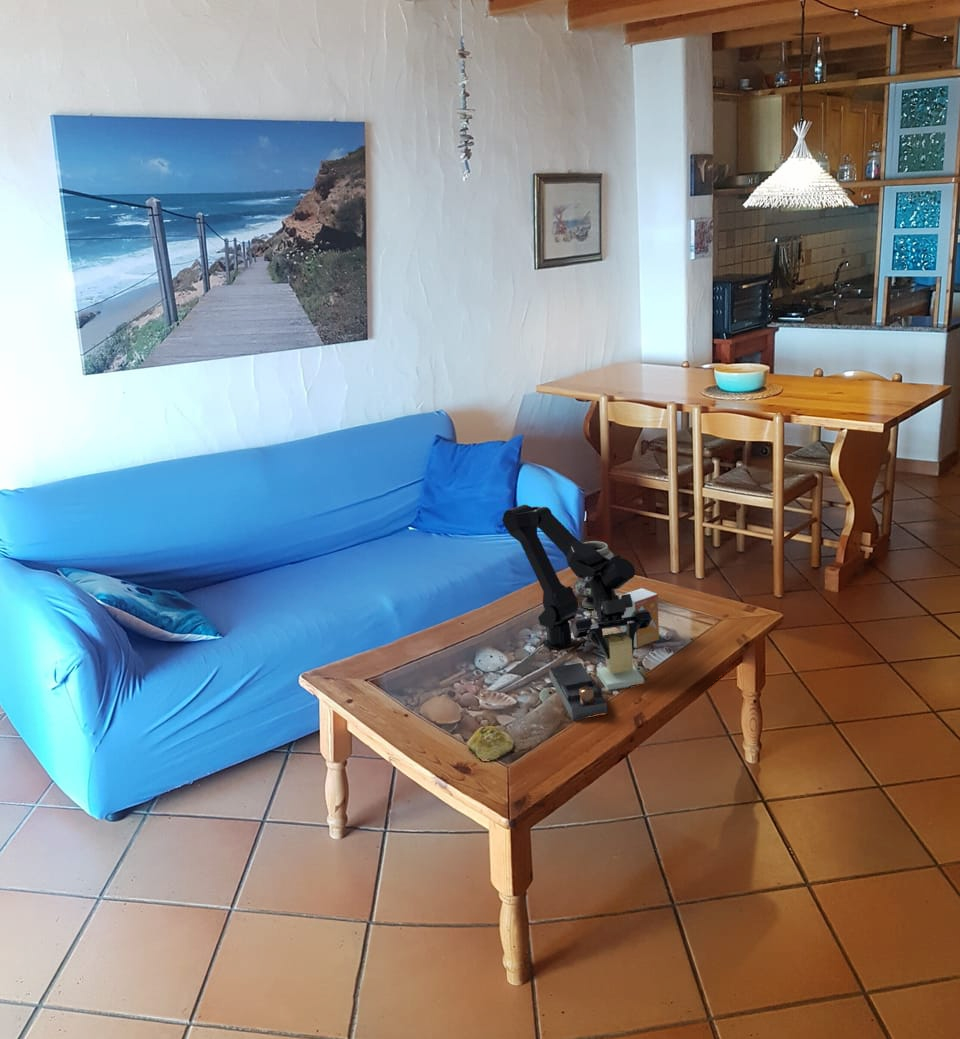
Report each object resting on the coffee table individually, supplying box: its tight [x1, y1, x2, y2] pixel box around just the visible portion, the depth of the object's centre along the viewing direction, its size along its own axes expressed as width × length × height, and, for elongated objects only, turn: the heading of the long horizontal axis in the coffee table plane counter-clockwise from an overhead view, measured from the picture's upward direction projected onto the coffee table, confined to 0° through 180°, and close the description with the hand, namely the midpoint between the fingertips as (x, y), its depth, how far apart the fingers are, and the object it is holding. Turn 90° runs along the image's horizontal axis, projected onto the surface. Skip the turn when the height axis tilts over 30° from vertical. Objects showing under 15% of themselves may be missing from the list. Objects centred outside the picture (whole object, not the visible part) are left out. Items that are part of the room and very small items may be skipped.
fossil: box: [466, 725, 514, 761], centre depth 207 cm, size 11×6×10 cm
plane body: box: [548, 662, 608, 721], centre depth 225 cm, size 22×8×6 cm, turn 9°
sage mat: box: [596, 664, 645, 691], centre depth 232 cm, size 9×9×2 cm
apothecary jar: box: [573, 540, 615, 609], centre depth 277 cm, size 12×12×18 cm
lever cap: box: [603, 631, 634, 673], centre depth 231 cm, size 5×6×8 cm
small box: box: [618, 587, 660, 649], centre depth 251 cm, size 8×6×13 cm
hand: (620, 656), depth 229 cm, fingers closed on lever cap, 5 cm apart
